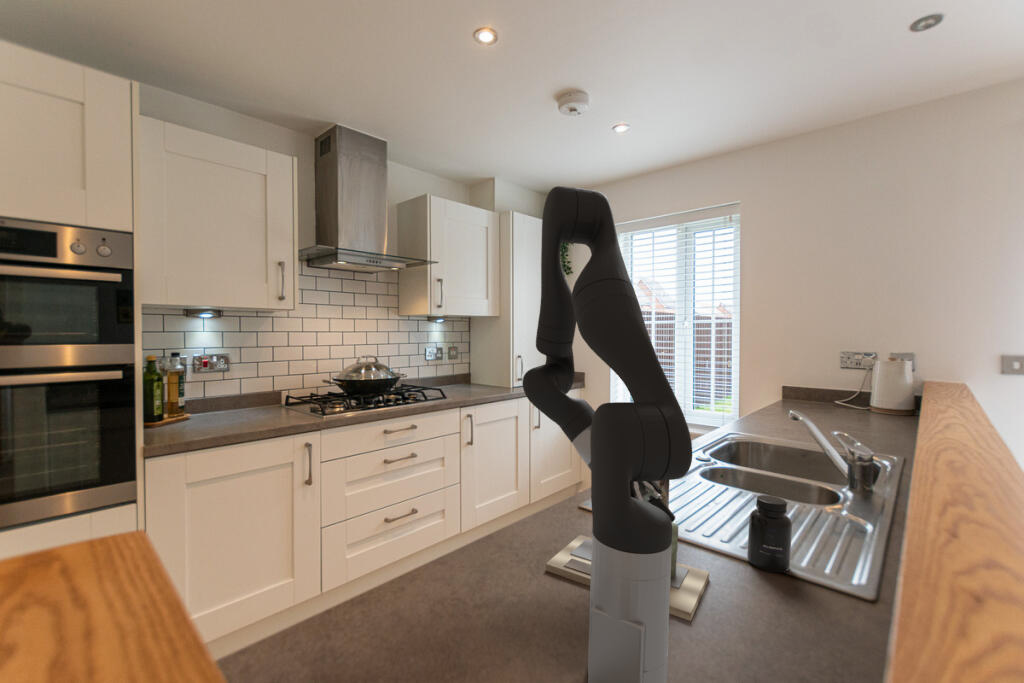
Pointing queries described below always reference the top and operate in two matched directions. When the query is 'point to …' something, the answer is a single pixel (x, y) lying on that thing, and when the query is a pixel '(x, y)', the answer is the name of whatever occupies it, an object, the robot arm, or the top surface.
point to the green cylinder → (674, 549)
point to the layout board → (682, 587)
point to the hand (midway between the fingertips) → (664, 530)
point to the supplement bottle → (770, 535)
